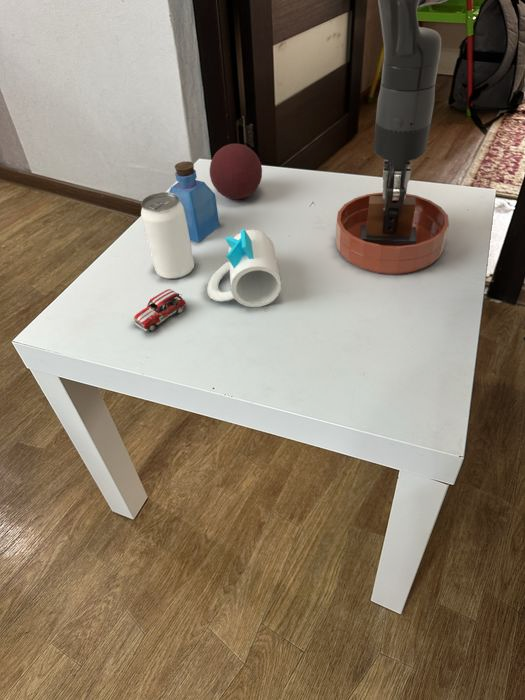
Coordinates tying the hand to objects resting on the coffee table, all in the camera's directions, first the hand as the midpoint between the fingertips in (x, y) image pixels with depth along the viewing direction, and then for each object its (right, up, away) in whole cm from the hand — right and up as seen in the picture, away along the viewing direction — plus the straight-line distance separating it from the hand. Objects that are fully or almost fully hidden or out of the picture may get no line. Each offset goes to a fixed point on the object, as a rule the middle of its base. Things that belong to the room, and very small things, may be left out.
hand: (389, 227), depth 81 cm
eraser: (0, -2, +1) cm, 2 cm away
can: (-35, -7, +1) cm, 36 cm away
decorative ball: (-25, +10, +17) cm, 32 cm away
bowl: (0, -3, +1) cm, 3 cm away
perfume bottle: (-33, +2, +9) cm, 34 cm away
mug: (-24, -10, -4) cm, 26 cm away
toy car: (-35, -15, -8) cm, 39 cm away
